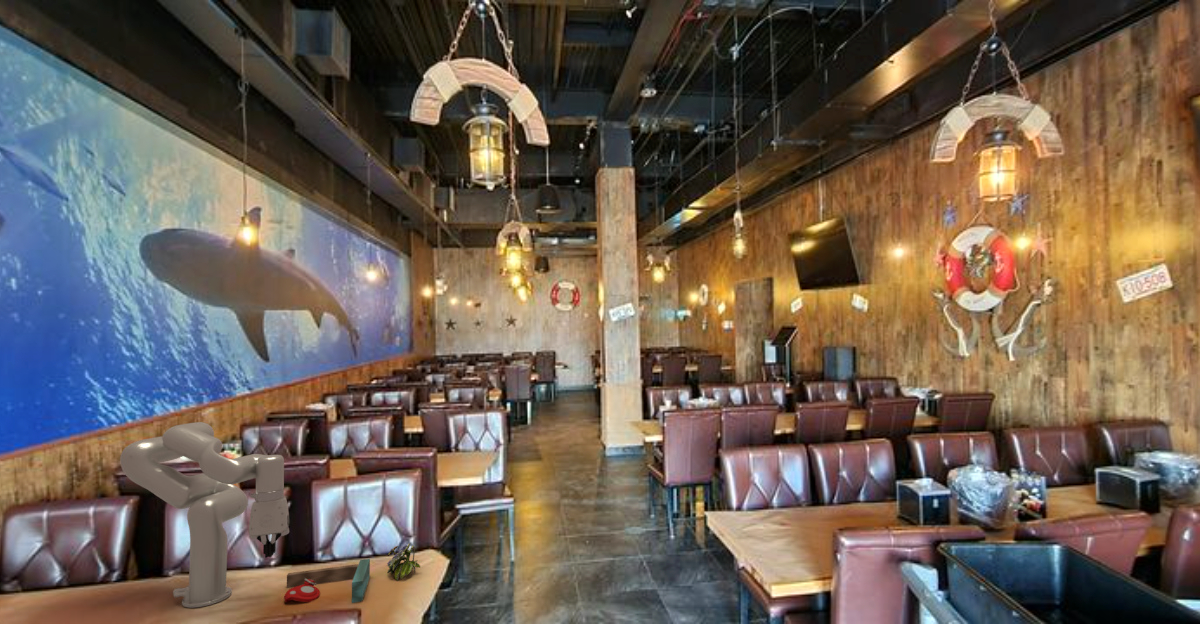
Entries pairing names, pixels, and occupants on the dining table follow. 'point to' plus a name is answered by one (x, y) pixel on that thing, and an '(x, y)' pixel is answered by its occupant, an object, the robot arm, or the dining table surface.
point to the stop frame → (336, 577)
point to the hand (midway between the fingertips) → (269, 555)
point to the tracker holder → (303, 592)
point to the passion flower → (406, 565)
